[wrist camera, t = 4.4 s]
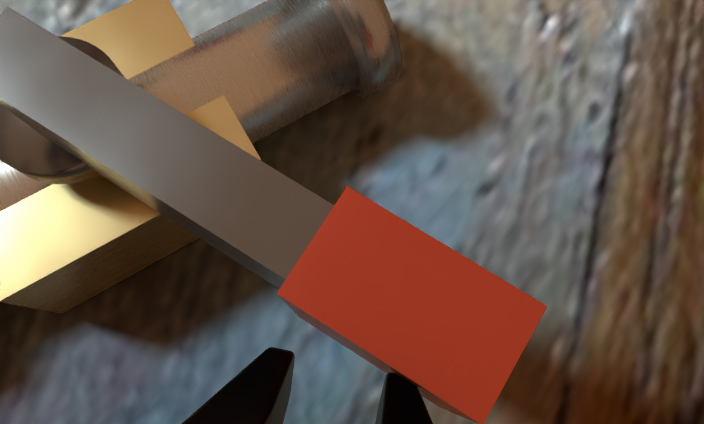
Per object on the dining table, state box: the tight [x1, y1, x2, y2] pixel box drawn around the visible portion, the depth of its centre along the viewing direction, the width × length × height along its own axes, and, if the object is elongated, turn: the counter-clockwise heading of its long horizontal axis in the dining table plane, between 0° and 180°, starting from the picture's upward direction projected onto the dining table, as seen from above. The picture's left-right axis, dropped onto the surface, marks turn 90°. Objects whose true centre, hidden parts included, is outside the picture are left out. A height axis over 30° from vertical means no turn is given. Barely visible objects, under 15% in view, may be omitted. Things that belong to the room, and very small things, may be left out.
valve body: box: [0, 0, 402, 314], centre depth 15 cm, size 5×15×4 cm, turn 120°
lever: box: [0, 7, 547, 424], centre depth 11 cm, size 11×3×4 cm, turn 58°
